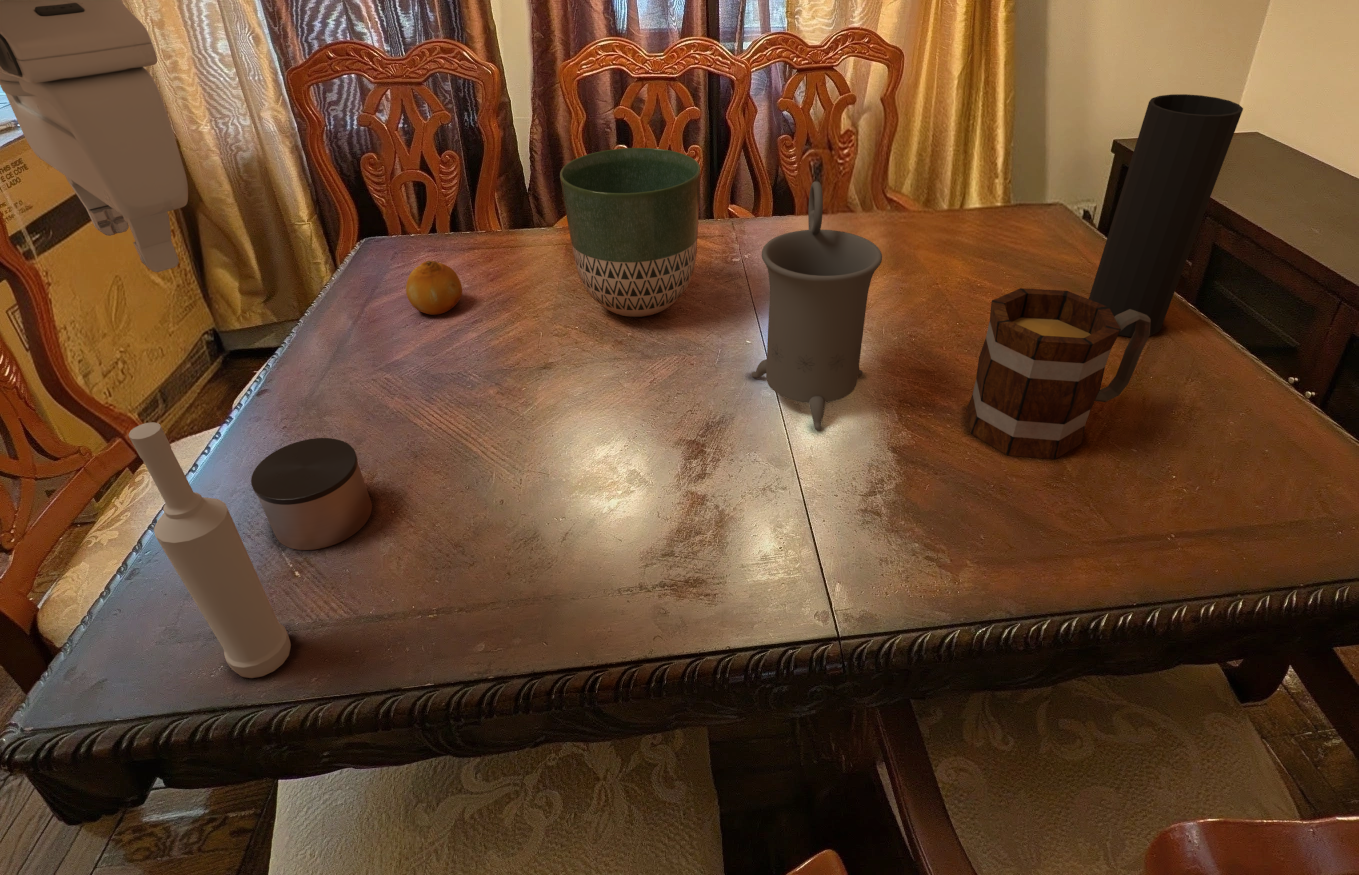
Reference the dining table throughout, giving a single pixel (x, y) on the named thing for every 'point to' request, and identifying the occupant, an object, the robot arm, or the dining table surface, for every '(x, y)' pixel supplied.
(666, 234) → the planter
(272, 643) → the bottle
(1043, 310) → the mug
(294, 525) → the canister
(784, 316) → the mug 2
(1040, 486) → the dining table surface
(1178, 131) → the vase
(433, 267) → the fruit
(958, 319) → the dining table surface
